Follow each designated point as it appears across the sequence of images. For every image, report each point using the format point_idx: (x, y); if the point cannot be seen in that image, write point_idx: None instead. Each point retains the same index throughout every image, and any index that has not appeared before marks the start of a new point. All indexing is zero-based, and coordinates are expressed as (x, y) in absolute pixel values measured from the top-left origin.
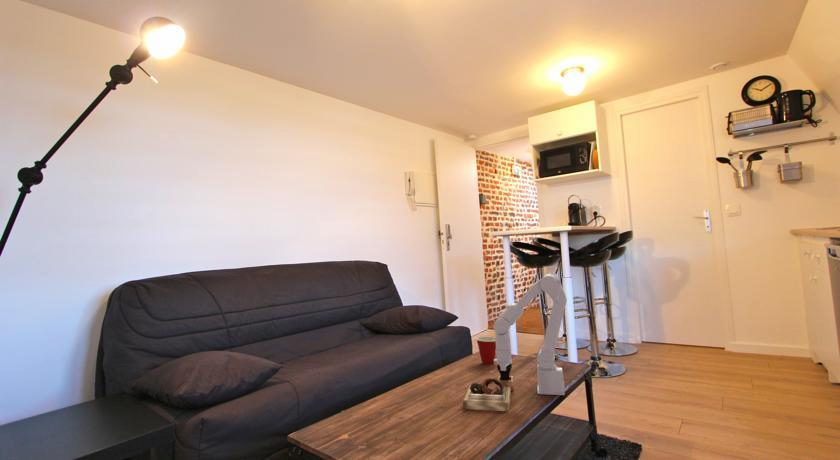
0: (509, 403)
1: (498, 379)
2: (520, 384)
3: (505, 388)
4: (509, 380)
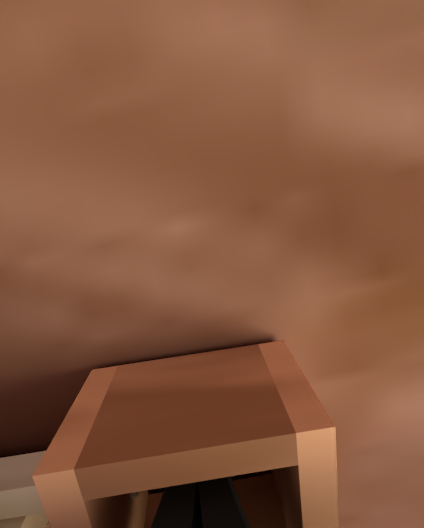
0: None
1: (115, 480)
2: None
3: (29, 506)
4: (287, 517)
